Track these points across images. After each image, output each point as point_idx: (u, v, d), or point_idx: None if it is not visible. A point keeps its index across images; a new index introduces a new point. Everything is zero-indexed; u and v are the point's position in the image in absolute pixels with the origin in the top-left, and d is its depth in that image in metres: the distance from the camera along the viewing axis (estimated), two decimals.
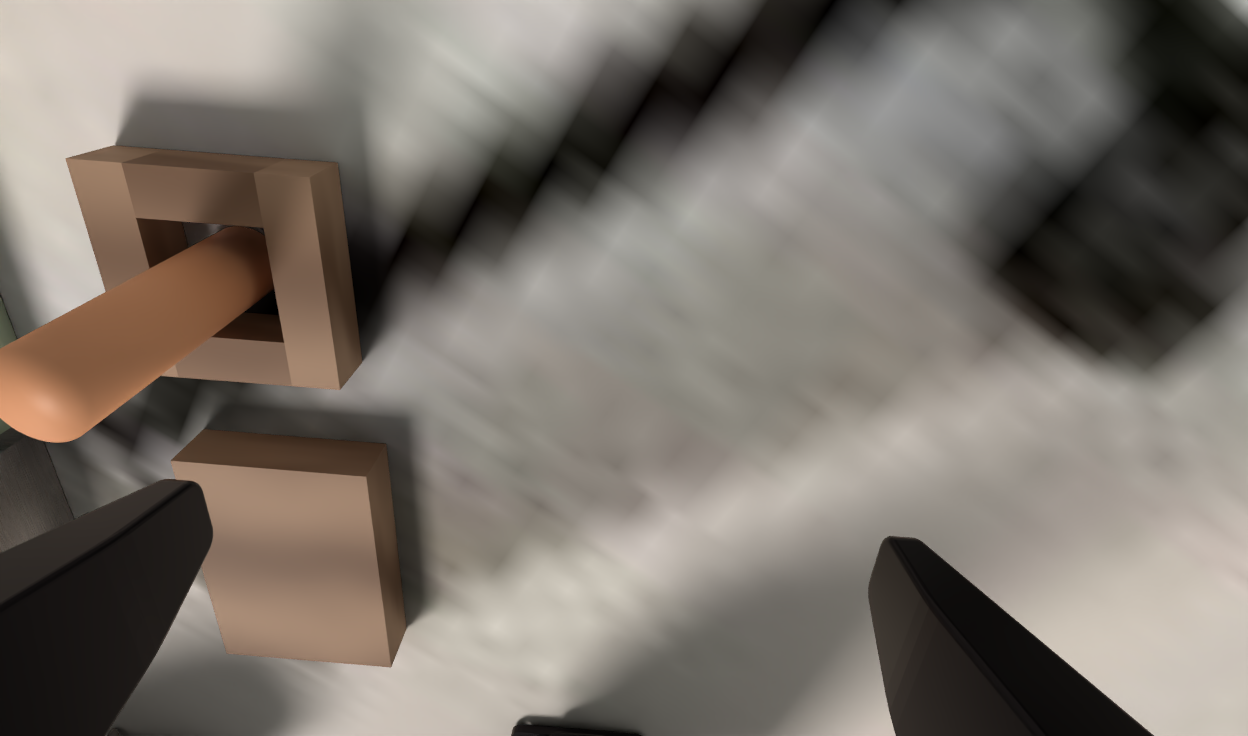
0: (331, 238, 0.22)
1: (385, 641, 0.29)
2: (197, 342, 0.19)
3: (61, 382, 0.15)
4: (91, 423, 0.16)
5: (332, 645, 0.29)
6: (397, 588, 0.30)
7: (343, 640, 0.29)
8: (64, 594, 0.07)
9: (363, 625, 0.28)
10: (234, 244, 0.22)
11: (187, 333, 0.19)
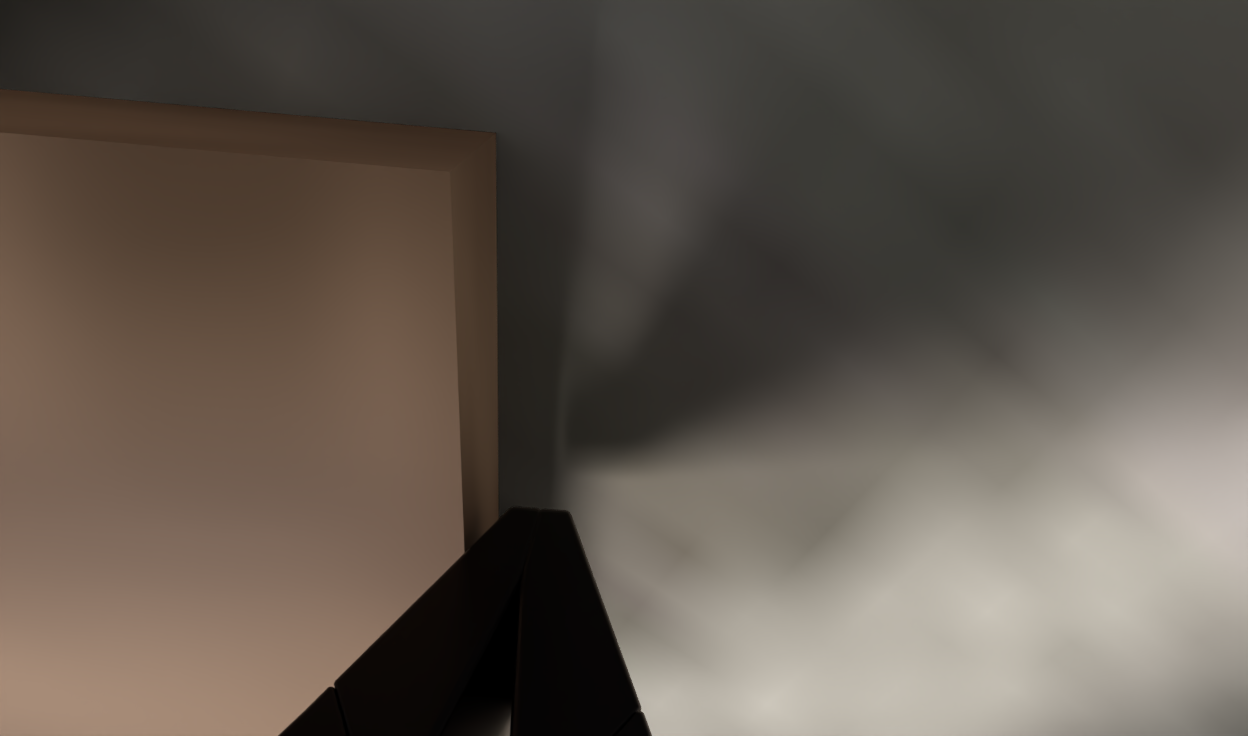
0: None
1: None
2: None
3: None
4: None
5: None
6: None
7: None
8: (505, 629, 0.07)
9: None
10: None
11: None
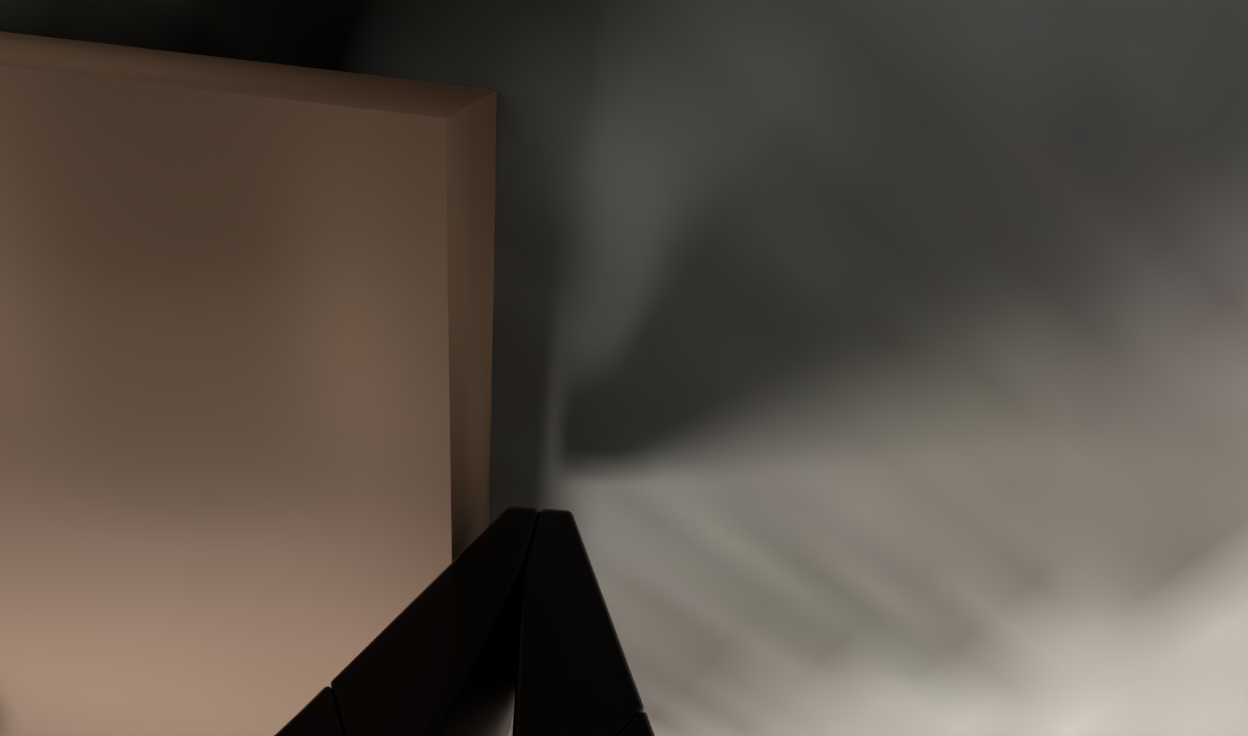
0: None
1: None
2: None
3: None
4: None
5: None
6: None
7: None
8: (502, 628, 0.07)
9: None
10: None
11: None
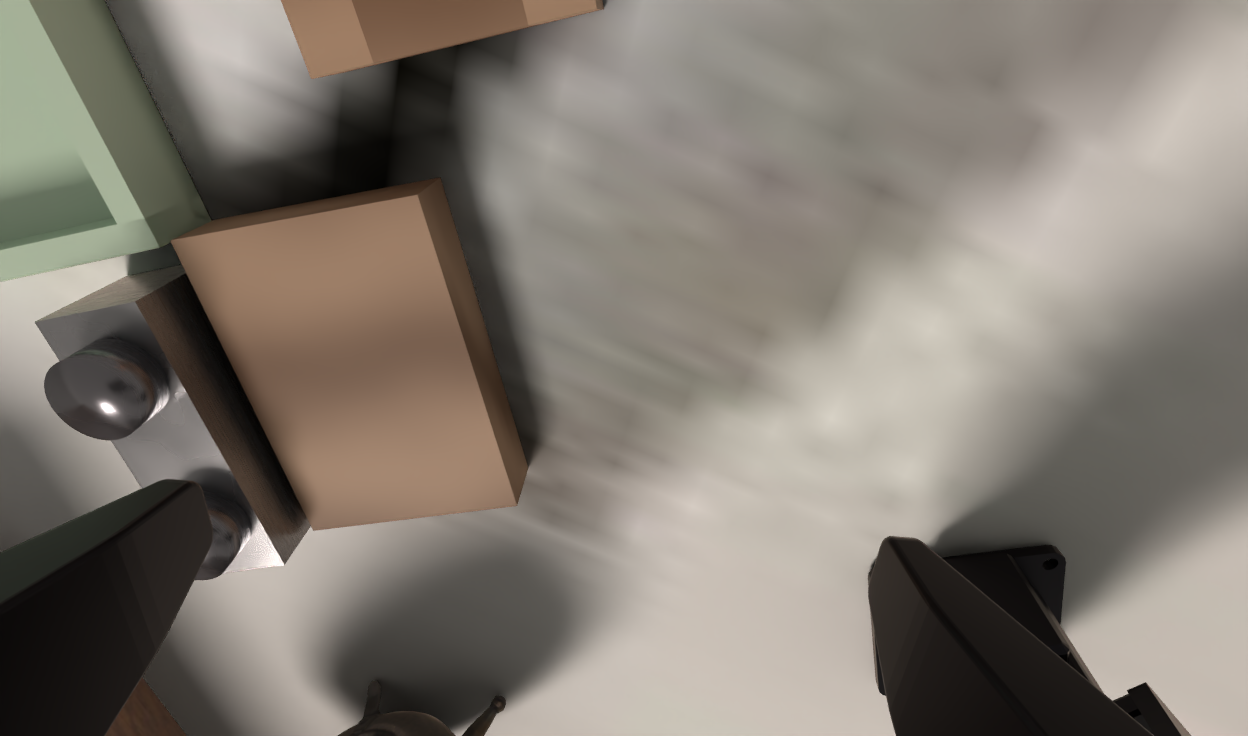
0: None
1: (501, 467, 0.22)
2: None
3: None
4: None
5: (436, 488, 0.22)
6: (502, 401, 0.22)
7: (448, 476, 0.22)
8: (64, 593, 0.07)
9: (468, 447, 0.21)
10: None
11: None
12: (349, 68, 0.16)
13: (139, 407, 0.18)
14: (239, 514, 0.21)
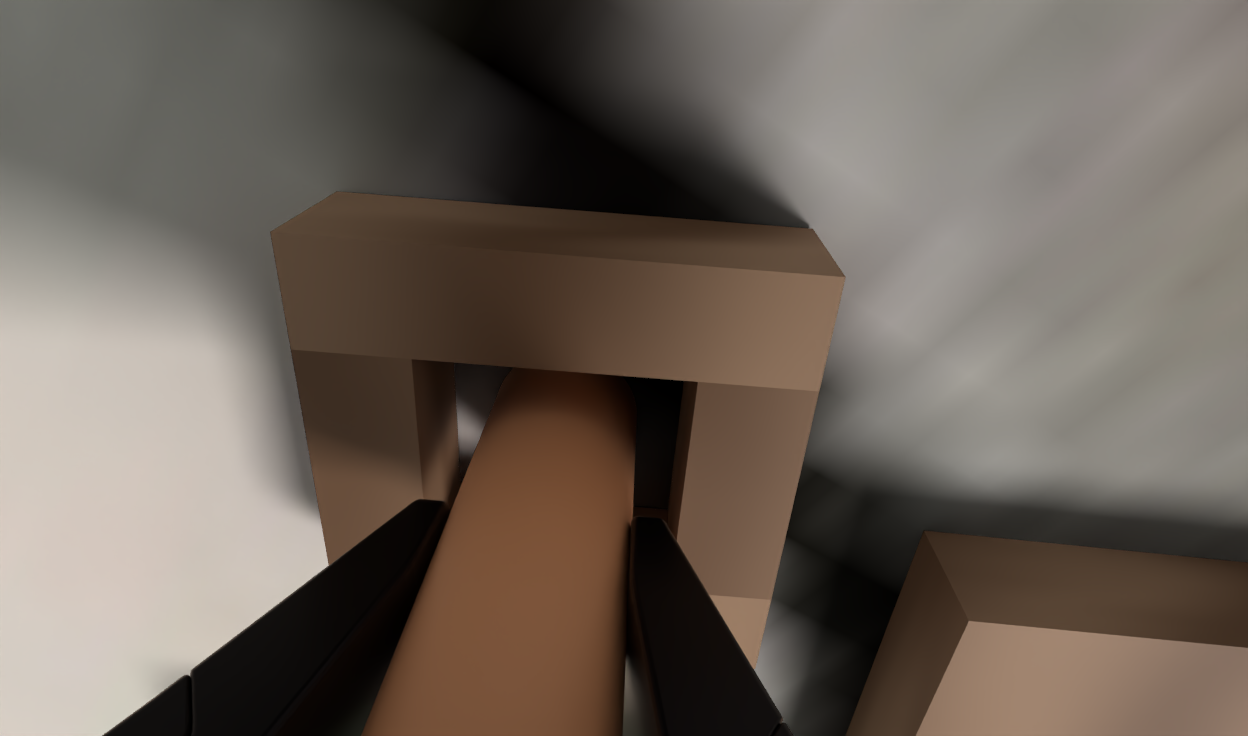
0: (459, 224, 0.09)
1: None
2: (571, 581, 0.07)
3: None
4: None
5: None
6: None
7: None
8: (383, 619, 0.07)
9: None
10: (486, 425, 0.10)
11: (512, 603, 0.07)
12: (763, 627, 0.11)
13: None
14: None
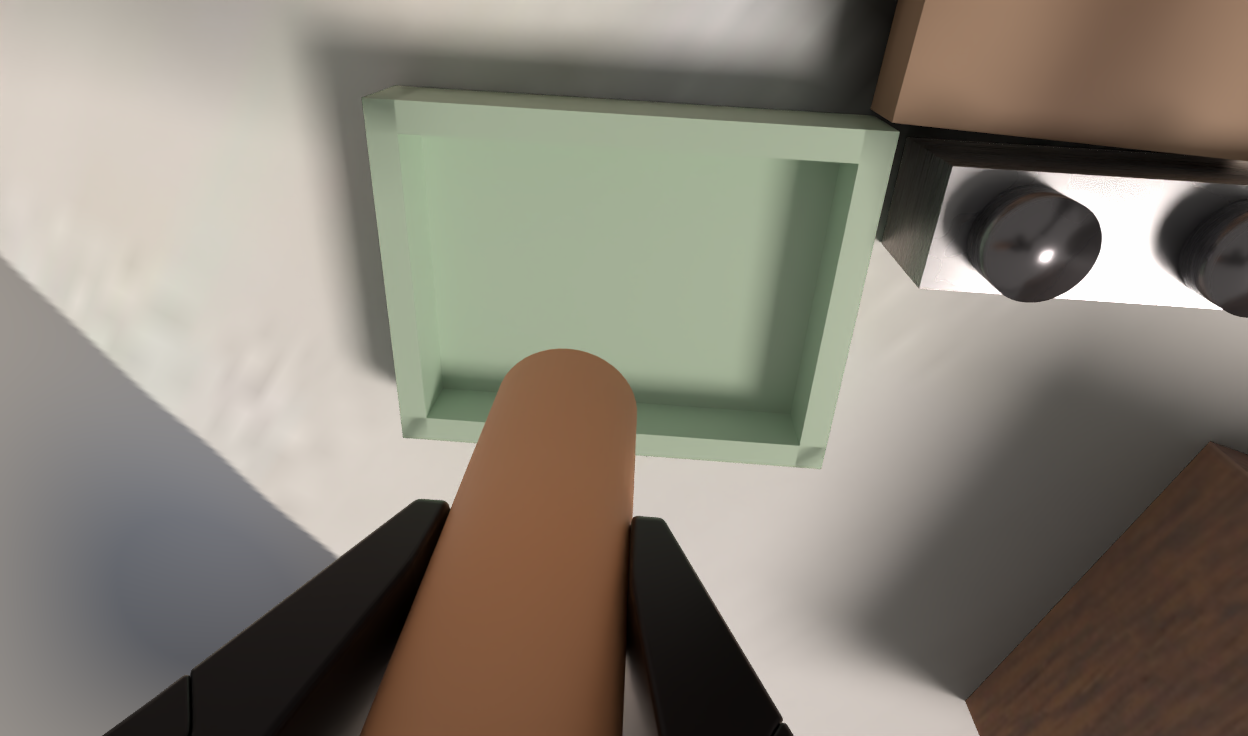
0: None
1: None
2: (571, 579, 0.07)
3: None
4: None
5: None
6: None
7: None
8: (384, 620, 0.07)
9: None
10: (485, 423, 0.10)
11: (512, 602, 0.07)
12: None
13: (1080, 203, 0.15)
14: None
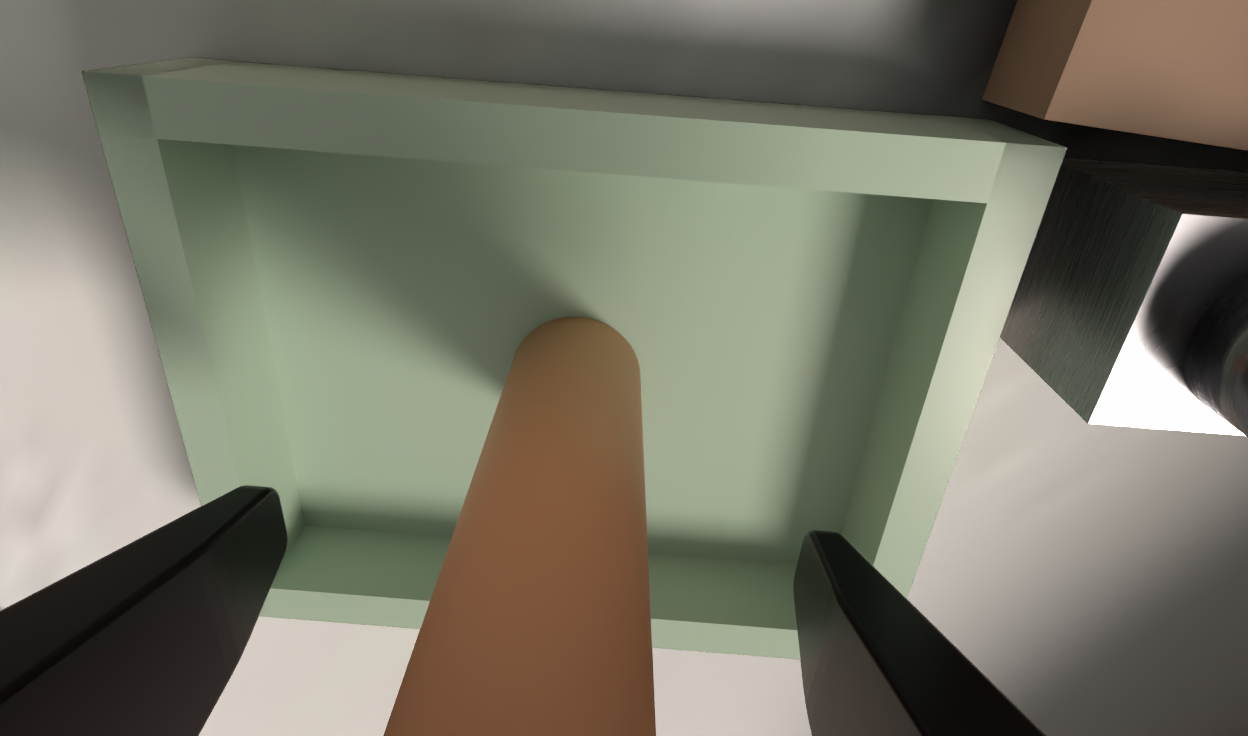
0: None
1: None
2: (601, 483, 0.08)
3: None
4: None
5: None
6: None
7: None
8: (163, 602, 0.07)
9: None
10: (507, 380, 0.11)
11: (554, 496, 0.08)
12: None
13: None
14: None
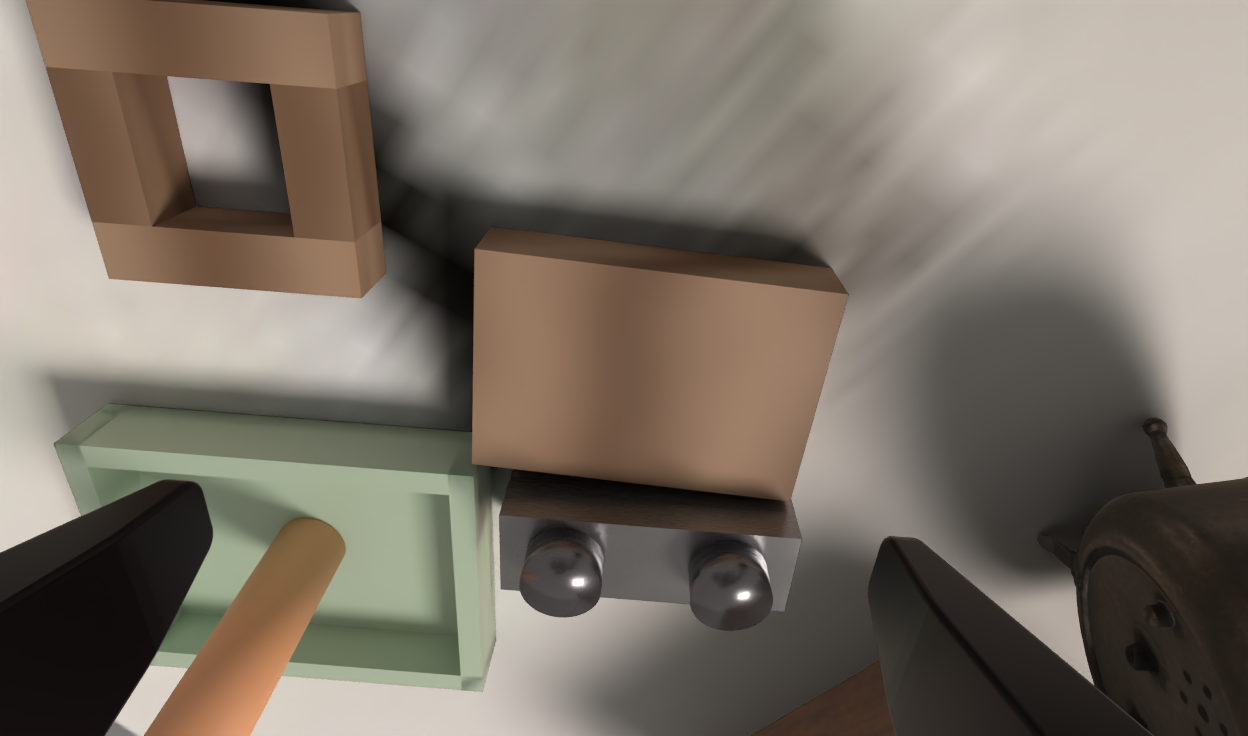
0: None
1: (792, 291, 0.19)
2: (258, 635, 0.21)
3: None
4: None
5: (789, 367, 0.20)
6: (733, 261, 0.20)
7: (781, 349, 0.19)
8: (64, 593, 0.07)
9: (753, 315, 0.19)
10: None
11: (231, 644, 0.20)
12: (355, 263, 0.19)
13: (575, 559, 0.20)
14: (725, 545, 0.21)
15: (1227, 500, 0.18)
